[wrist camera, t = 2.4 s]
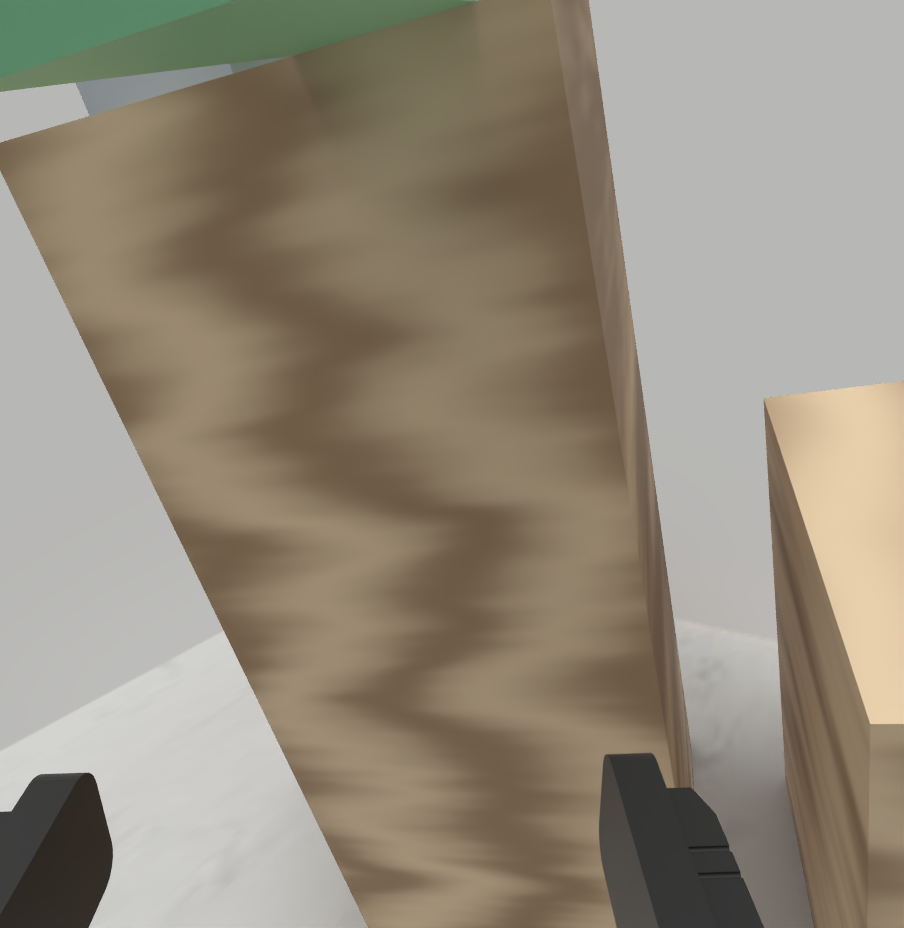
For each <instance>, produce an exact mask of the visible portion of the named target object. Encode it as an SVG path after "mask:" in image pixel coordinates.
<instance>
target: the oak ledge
mask: <svg viewBox="0 0 904 928" xmlns="http://www.w3.org/2000/svg"><path fill="white" fill-rule="evenodd" d="M764 412H765V430H766V446H767V464H768V481H769V496H770V497H769V499H770V515H771V533H772V550H773V567H774V584H775V600H776V601H775V602H776V619H777V635H778V654H779V671H780V688H781V705H782V723H783V740H784V757H785V774H786V783H787V788H788V793H789V798H790V803H791V808H792V814H793V819H794V824H795V829H796V834H797V839H798V845H799V850H800V855H801V860H802V865H803V870H804V876H805V881H806V886H807V891H808V896H809V901H810V907H811V912H812V917H813V922H814V927H815V928H904V381H901V382H892V383H884V384H876V385H868V386H860V387H851V388H843V389H835V390H828V391H820V392H811V393H804V394H795V395H787V396H778V397H770V398H764Z"/></svg>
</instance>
